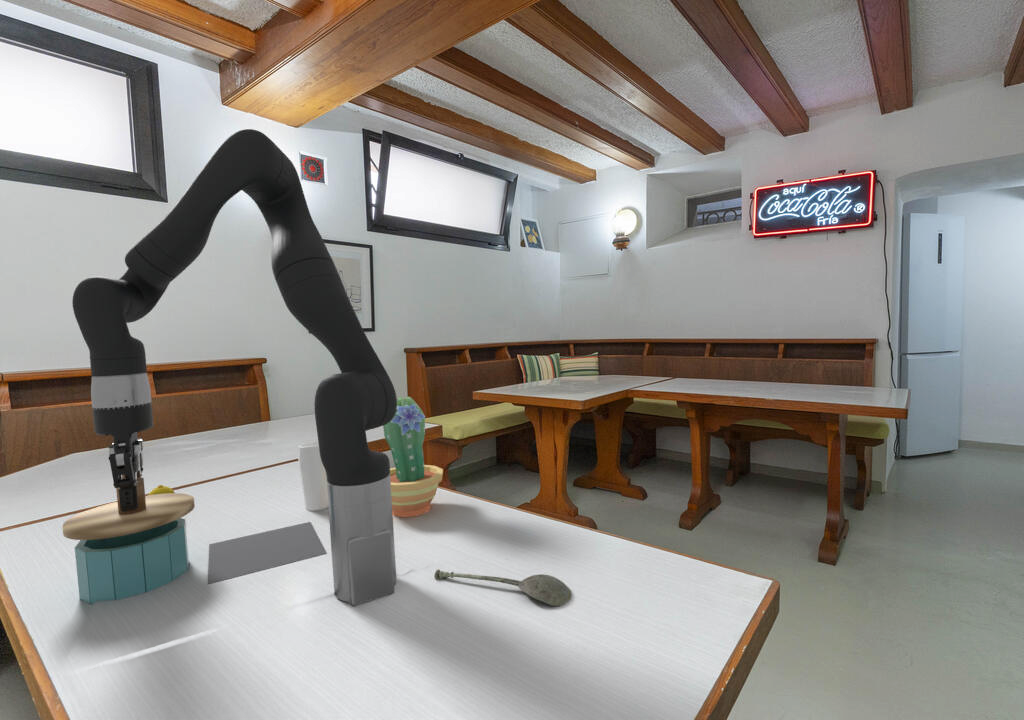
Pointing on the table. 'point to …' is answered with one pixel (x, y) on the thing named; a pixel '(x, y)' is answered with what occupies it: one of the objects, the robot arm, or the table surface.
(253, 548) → the mat
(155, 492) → the lemon
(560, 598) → the soupspoon
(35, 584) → the table surface
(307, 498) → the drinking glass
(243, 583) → the table surface
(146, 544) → the bowl
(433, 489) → the potted cactus
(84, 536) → the lid
